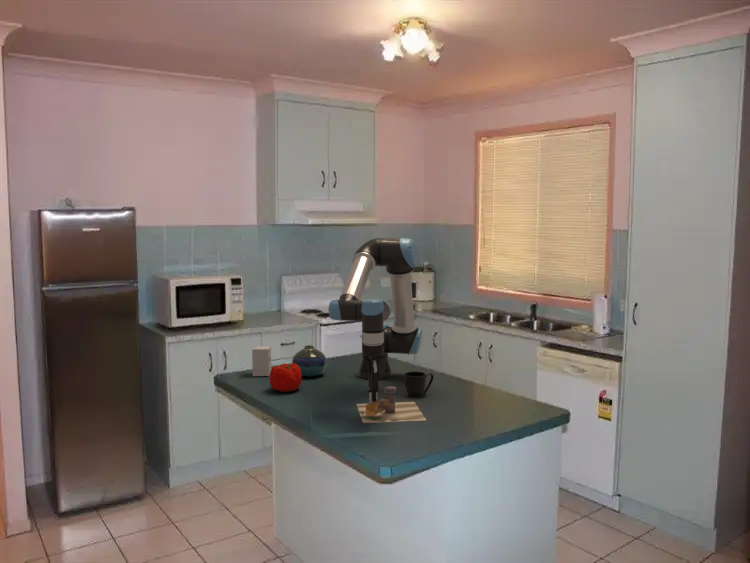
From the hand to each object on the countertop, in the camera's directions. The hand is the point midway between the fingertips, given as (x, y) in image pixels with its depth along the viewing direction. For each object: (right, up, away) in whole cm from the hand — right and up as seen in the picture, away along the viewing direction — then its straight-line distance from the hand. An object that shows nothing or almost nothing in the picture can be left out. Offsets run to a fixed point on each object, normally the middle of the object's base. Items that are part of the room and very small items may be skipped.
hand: (373, 409), depth 226 cm
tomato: (-36, 0, +37) cm, 51 cm away
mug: (+18, -1, +27) cm, 32 cm away
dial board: (+6, -3, +4) cm, 8 cm away
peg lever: (+3, -2, -1) cm, 3 cm away
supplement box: (-50, +3, +61) cm, 79 cm away
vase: (-29, +3, +61) cm, 67 cm away
